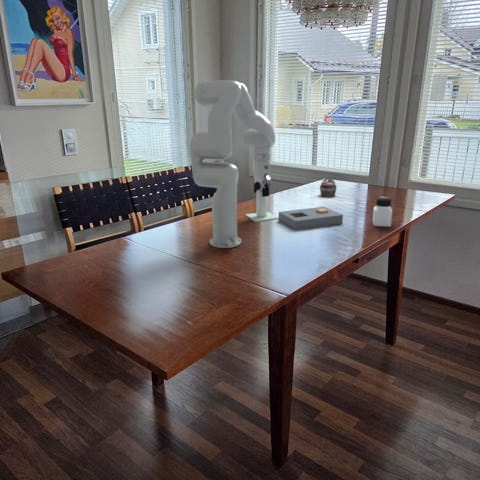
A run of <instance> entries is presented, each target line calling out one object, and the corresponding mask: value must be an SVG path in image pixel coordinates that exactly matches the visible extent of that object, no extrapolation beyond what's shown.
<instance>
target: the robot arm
mask: <svg viewBox="0 0 480 480" xmlns="http://www.w3.org/2000/svg"><path fill="white" fill-rule="evenodd" d="M194 98H195V101H196V102H197V104H198V105H200V106H201V107H211V109H210V111H209V113H208V115H207V119H206V121H207V131H205V132H203V131H202V132H201V131H200V132H196V133H194V134H193V135H192V137H191V139H190V143H189V154H190V155H189V157H190V165H191V170H192V171H191V172H192V178H193V182H194V183H195V184H196V185H197V186H198V187H204V188H213V189H216V191H215V193H214V194H213V196H212V197H211V212H212V213H211V217H212V218H211V219H212V236H213V237H211V238H210V239H209V245H210V246H211V247H214V248H219V249H230V248H236V247H238V246H240V245H241V244H242V239H241V238H240V237H239V236H238V210H237V209H238V206H237V204H238V202H237V201H238V200H237V199H238V198H237V197H238V196H237V195H238V194H237V193H238V184H239V175H240V173H239V168H238V167H237V166H236V165H235V164H233V163H231V162H225V161H208V160H226V159H229V158H231V157H232V155H233V150H234V149H233V148H234V147H233V133H232V132H233V131H232V117H233V116H234V118H235V120H236V121H237V123H239V124H240V125H243V126H245V127H247V128H251V129H247V130H245V131H244V132H243V133H242V135H241V142H242V144H243V145H244V146H245V147H247V148H253V163H254V164H253V174H252V176H253V180H252V181H253V193H254V194H256V191H258V190H259V189H262V196H263V197H267V196H268V197H269V196H270V185H271V182H272V175H271V174H272V171H271V148H272V147H273V146H274V145H275V143H276V135H275V131H274V128H273V125H272V123H271V121H270V119H268V118H267V117H266V116H265V115H263V114H262V113H261V112H259V111H257V110H256V109H255V106H254V103H253V100H252V99H251V96H250V93H249V90H248V87H247V86H246V85H245V84H244V83H242V82H239V81H236V80H230V79H228V80H227V79H225V80H202V81H199V82H198V83H197V84H196V86H195V88H194ZM261 184H262V188H261ZM268 197H267V198H268Z"/></svg>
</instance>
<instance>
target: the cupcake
mask: <svg viewBox="0 0 480 480" xmlns="http://www.w3.org/2000/svg"><path fill="white" fill-rule="evenodd" d="M319 191H320V196H321V197H325V198H333V197H335V196H336V192H337V185H336V180H335V179H334V178H332V177H325V178H323V179H322V181H321V183H320V186H319Z"/></svg>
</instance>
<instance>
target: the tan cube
mask: <svg viewBox="0 0 480 480" xmlns="http://www.w3.org/2000/svg"><path fill="white" fill-rule="evenodd" d="M316 212H317V213H320V214H322V213H328V210H326V209H323V208H322V209H316Z"/></svg>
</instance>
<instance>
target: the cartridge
mask: <svg viewBox="0 0 480 480" xmlns="http://www.w3.org/2000/svg"><path fill="white" fill-rule="evenodd" d="M255 194H256V197H255V198H256V212H255V213H256V216H257V217H261V218H263V217H267V212H268V197H269V196H267V197H263V196H262V188H261V189H259V190H258V191H256V193H255Z"/></svg>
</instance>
